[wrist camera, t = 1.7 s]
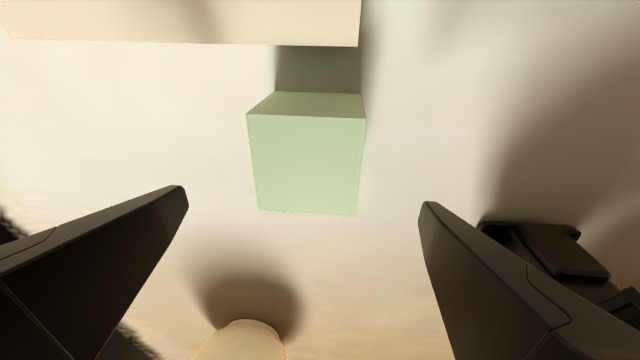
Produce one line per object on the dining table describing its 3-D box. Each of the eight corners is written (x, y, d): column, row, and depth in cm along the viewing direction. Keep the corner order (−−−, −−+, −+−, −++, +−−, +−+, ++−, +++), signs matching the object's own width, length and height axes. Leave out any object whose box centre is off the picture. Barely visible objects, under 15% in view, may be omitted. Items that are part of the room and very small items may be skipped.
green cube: (352, 170, 17) (355, 216, 13) (280, 166, 17) (258, 210, 13) (360, 93, 14) (366, 118, 10) (274, 90, 15) (245, 114, 11)
